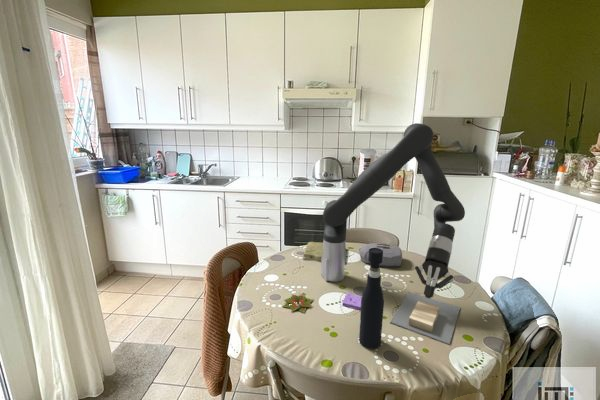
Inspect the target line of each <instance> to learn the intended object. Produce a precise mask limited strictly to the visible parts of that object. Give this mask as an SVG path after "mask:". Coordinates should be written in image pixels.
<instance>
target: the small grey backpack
mask: <svg viewBox="0 0 600 400" xmlns="http://www.w3.org/2000/svg"><path fill="white" fill-rule="evenodd" d="M370 248H379V249H381V250H383V259H382V263H381V264H380V266H379V267H386V268H387V267H388V268H392V267H393V268H394V267H395V268H396V267H397V268H398V267H400V266H401V265H402V261H403V252H402V249H401V247H400V246H396V245H393V244H386V243H382V242H381V243H380V242H374V243H373V242H371V243H367V244H365V245H363V246H361V248H360V249H359V251H358V254H359V256H360V260H361V262H363V263H365V264H370V262H369V261H368V255H369V249H370Z"/></svg>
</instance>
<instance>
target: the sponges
mask: <svg viewBox="0 0 600 400" xmlns="http://www.w3.org/2000/svg"><path fill="white" fill-rule="evenodd" d="M361 298H362V295H357V294H354V293H353V294H352V293H350V292H349V293H348V292H346V293H345V295H344V298H343V300H342V302H341V303H342V307H346V308H350V309H351V308H352V309H356V310H360V311H361Z"/></svg>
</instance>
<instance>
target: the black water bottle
mask: <svg viewBox="0 0 600 400" xmlns="http://www.w3.org/2000/svg"><path fill="white" fill-rule="evenodd" d="M382 259H383V250H381V249H379V248H370V249H369V255H368V261H369V262H370V263H369V264H370V265H369V268H368V274H367V276H366V277H367V278H366V285H365V286H364V289H363V291H362V295H361V296H362V298H361V310H360V319H359V333H358V338H359V339H358V340H359V341H358V342H359V343H360V346H362V347H364V348H365V349H368V350H377V349H379V348H380V346H381V344H382V331H383V319H384V305H385V299H384V293H383V289H382V285H381V281H382V276H381V275H382V274H381V269H380V267H381V266H380V264H381V263H382Z"/></svg>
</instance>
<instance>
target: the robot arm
mask: <svg viewBox="0 0 600 400" xmlns="http://www.w3.org/2000/svg"><path fill="white" fill-rule="evenodd" d="M433 140H434V131H433V129H432V128H431V127H430V126H429V125H427V124H423V123H419V122H418V123H412V124H410V125H409V126H407V127H406V129H405V130H404V132H403V137H402V139H401V140H399V142H398V143H397V144H396V145H395V146H394V147H393V148H391V149H390V150H389V151H387V152H386V153H384V154H383V155H381V156H380V157H378V158H377V159H375V160H374V161H373V162H372V163H371V164H370V165H368V166H367V167H366V168H365V169H364V170H363V171H362V172H361V173H360V174H359V175H358V176H357V178H355V180H354V181H353V182H352V183H351V185H350V186H349V187H348V189H347V190H346V191H345V192H344V193H343V194H342V195H341V196H340V197H338V199H334V200H331V201H329V202H328V203H327V204H325V207H324V209H323V213H322V217H323V222H324V229H323V238H322V239H323V241H322V243H323V254H322V258H321V262H320V263H321V264H320V265H321V271H320V272H321V276H322V279H323V280H324V281H325V282H335V283H336V282H337V283H338V282H340V281H341V282H342V281H344V278H345V275H346V274H345V272H346V270H345V268H346V266H345V265H346V251H345V245H346V242H347V241H346V240H347V230H348V229H347V226H348V225H347V224H348V218H349V217H350V216H351V215H352V214H353V213H354V212H355V211H356V209H357V208H359V206H361V205H362V204H363V203H366V201H367V200H368V199H370V198H371V197H373V195H374V194H376V193H377V192H378V191H379V190H380V189H382V188H383V187H384V186H385V185H386V184H387V183H388V182H390V180H391V179H392V178H394V176H395V175H396V174H398V172H400V170H401V169H402V168H404V166H405V165H406V164H407V163H409V162H410V161H411V160H413V159H415V160H416V162H417V164H418V166H419V169H420V171H421V174H422V176H423V179H424V182H425V185H426V187H427V189H428V191H429V194H430V196H431V198H432V200H433V201H435V202H441V203H440V204H438V205H436V206H435V207H434V209H433V225H434V226H433V227H434V228H433V231H432V236H431V239H430V241H429V245H428V248H427V250H426V251H427V252H426V255H425V259H424V261H423V263H422V264H421V265H419V266H418V265H417V266H415V267H414V269H415V271H416V274H417V275H418V276H417V277H418V279H419V280H420V282H421V283H422V284H423V285H424V286H425V287H424V291H423V296H424V297H426V298H429V299H430V298H431V299H432V298H434V294H435V291H436V289H440V290H441V289H442V288H444V287H446V285H448V284H450V283H451V282H453V281H454V275H453V274H451V273H449V264H450V260H451V255H452V250H453V242H454V240H455V239H454V238H455V235H456V234H455V233H456V229H455V227H454V226H453V225H451V224H449V223H450V222H452V223H453V222H460V221H462V220H463V219H464V217H465V215H466V214H465V213H466V210H465V207H464V205H463V203H461V201H460V200H459V199H458V198H457V196H456V194H455V193H454V192H453V191H452V189H451V187H450V185H449V182H448V179H447V178H446V174H445V173H444V171H443V169H442V167H441V166H440V164H439V162H438V161H437V159H436V157H435V155H434V152H433V150H432V142H433ZM447 222H449V223H447ZM346 246H347V245H346ZM423 270H424V271H423ZM423 272H424V273H425V275H426V279H425V278H424V276H423ZM443 277H445V278H444V279H442V278H443ZM441 279H442V280H441ZM439 280H441V281H439Z"/></svg>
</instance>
